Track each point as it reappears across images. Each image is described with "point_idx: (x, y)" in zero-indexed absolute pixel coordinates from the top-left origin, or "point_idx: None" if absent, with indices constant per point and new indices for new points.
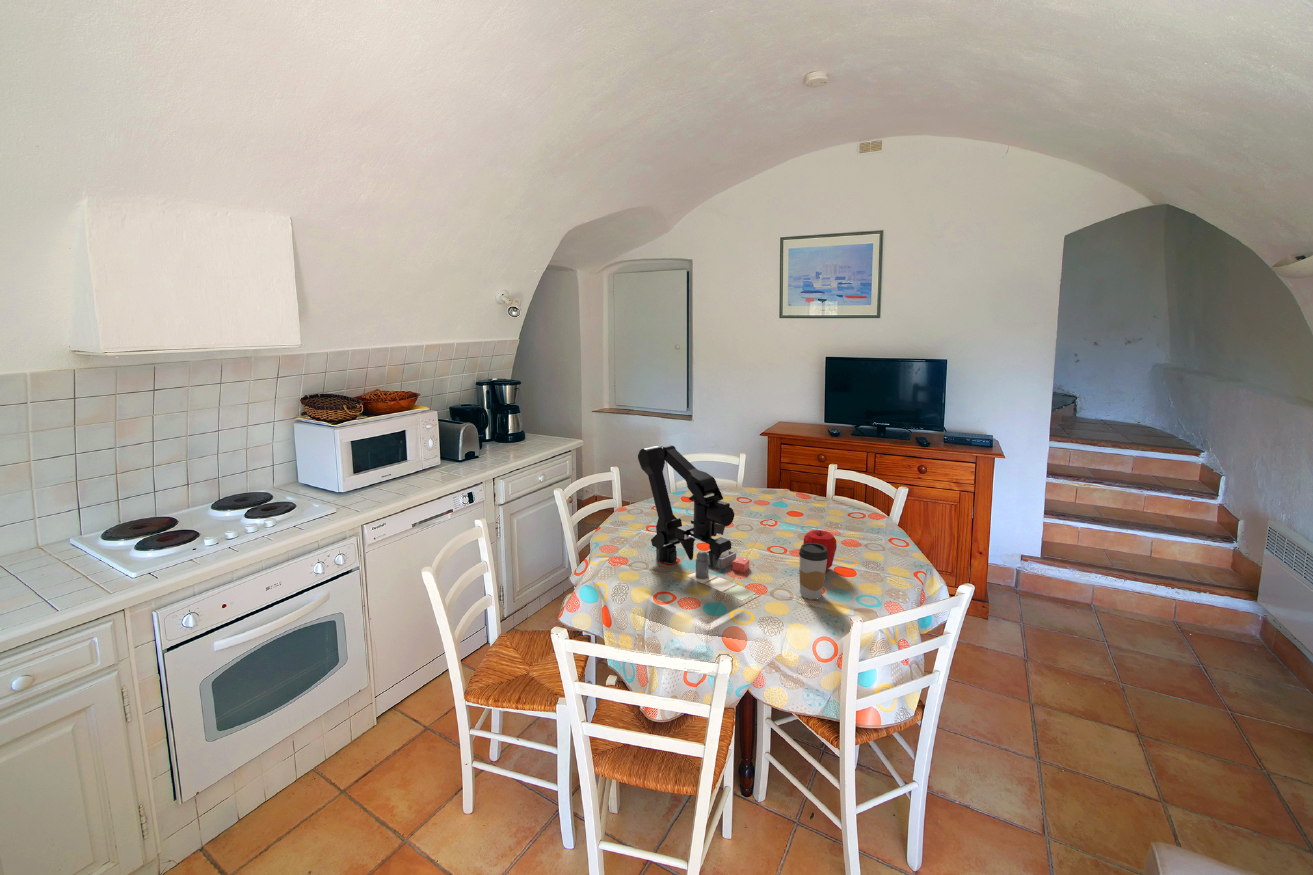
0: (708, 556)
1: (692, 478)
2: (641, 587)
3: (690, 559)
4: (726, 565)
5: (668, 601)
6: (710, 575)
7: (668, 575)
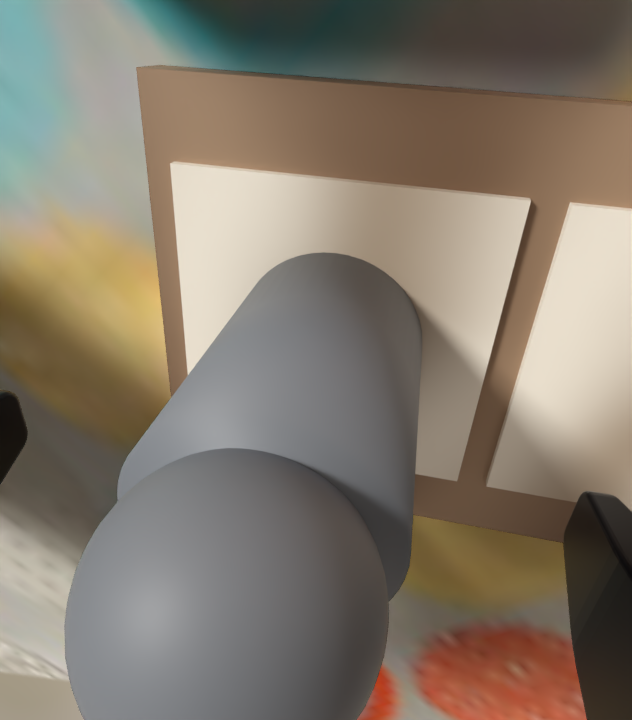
0: None
1: None
2: None
3: (21, 449)
4: None
5: (368, 710)
6: (414, 249)
7: (33, 428)
